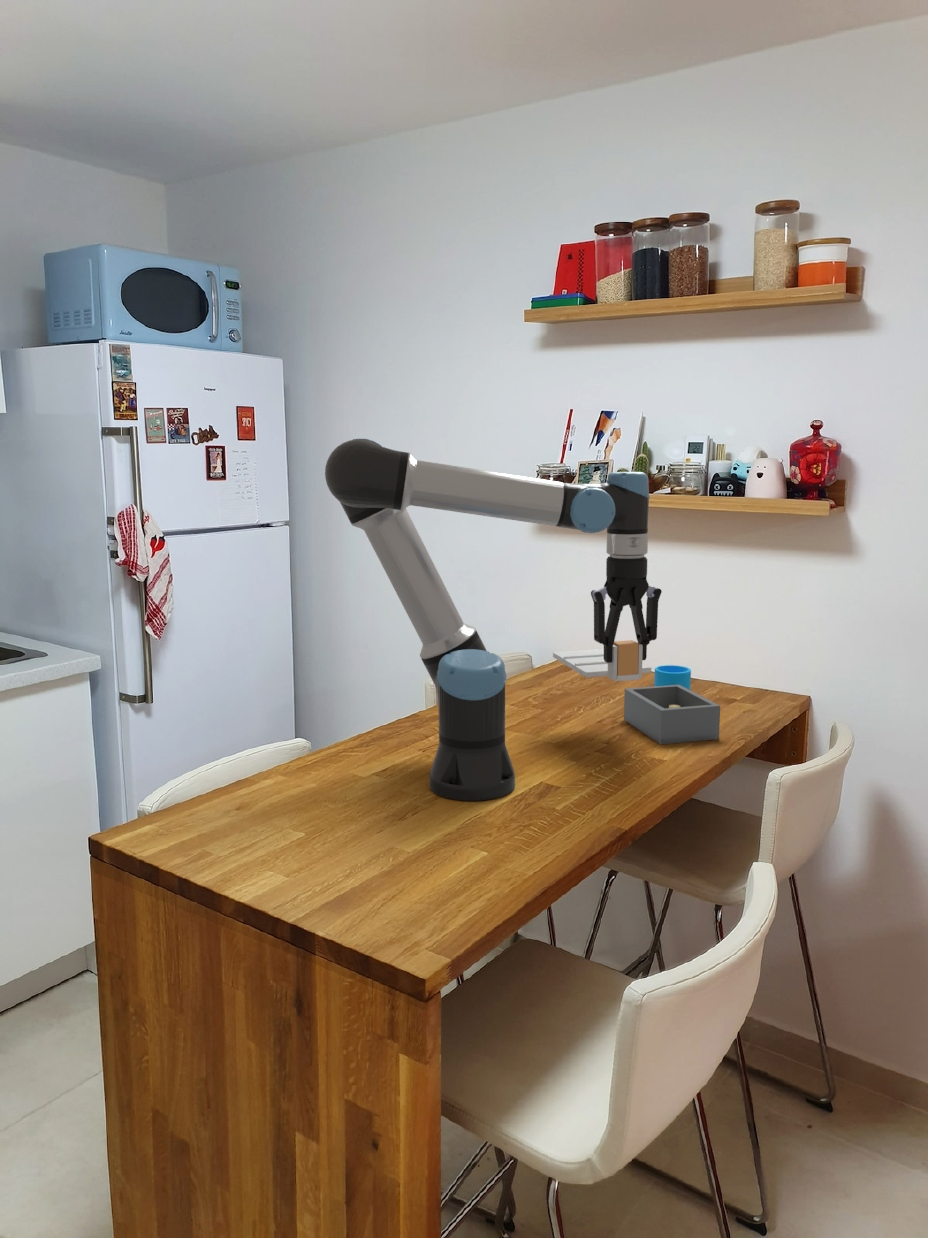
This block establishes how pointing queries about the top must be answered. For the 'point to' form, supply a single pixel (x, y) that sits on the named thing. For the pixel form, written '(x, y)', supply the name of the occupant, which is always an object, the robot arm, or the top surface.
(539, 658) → the top surface
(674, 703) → the tub
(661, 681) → the mug
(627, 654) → the lid
